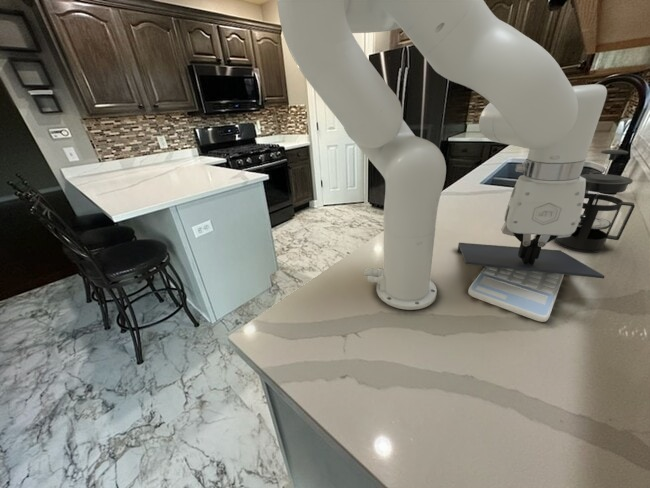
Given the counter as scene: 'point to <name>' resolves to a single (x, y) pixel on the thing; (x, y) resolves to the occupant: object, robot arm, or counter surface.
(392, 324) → the counter surface
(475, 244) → the hinge strip
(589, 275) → the cover
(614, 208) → the french press
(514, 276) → the calculator
